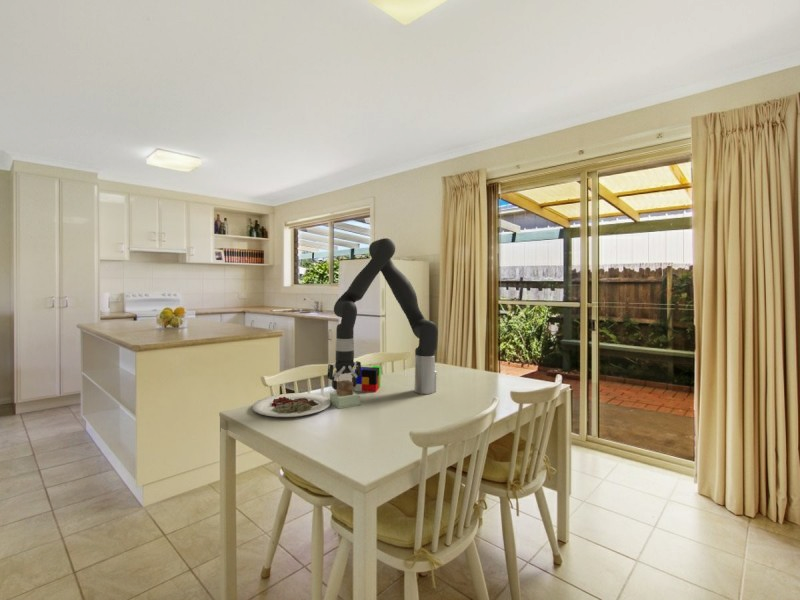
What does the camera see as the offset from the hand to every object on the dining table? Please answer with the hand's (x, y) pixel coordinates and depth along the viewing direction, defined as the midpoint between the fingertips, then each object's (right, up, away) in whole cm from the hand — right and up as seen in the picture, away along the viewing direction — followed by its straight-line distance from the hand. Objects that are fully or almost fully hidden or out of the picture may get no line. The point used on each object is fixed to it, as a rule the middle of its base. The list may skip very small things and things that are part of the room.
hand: (344, 387), depth 169 cm
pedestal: (0, -7, 0) cm, 7 cm away
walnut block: (0, -3, 0) cm, 3 cm away
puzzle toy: (+8, -6, +25) cm, 27 cm away
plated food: (-20, -7, -6) cm, 22 cm away
